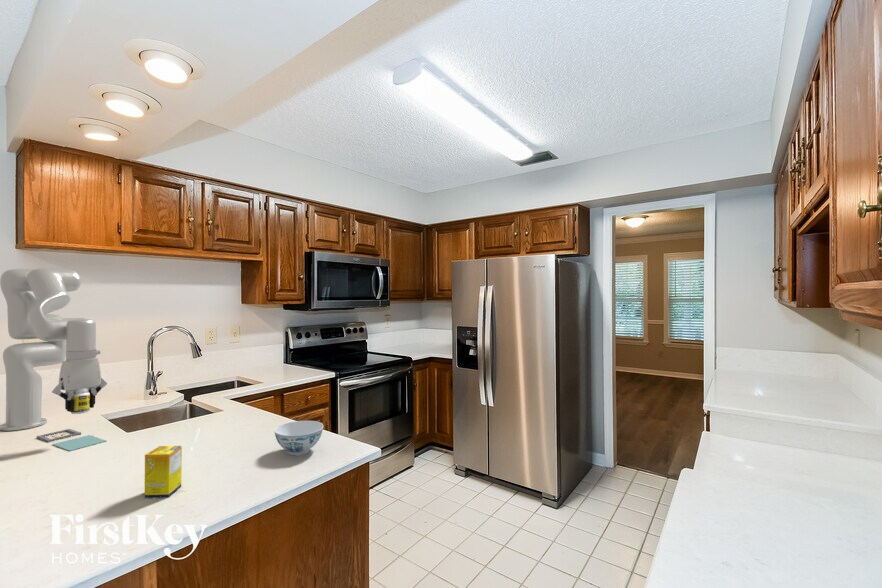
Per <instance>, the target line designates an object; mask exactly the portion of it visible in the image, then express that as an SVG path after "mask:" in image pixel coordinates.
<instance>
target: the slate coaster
mask: <svg viewBox="0 0 882 588" xmlns="http://www.w3.org/2000/svg"><path fill="white" fill-rule="evenodd" d="M62 432H63V433H62ZM66 432H67V433H70V434H67V433H66ZM58 433H59V434H60V436H58ZM54 434H55V435H54ZM49 435H50V436H51V438H50V437H49ZM63 435H64V436H63ZM81 435H82V432H81V431H78V430H75V429H71V428H66V429H63V430H58V431H53V432H50V433H46V434H41V435H36V439H38V438H39V439H38V440H42V441H43V440H44V442H47V443H51V442H55V440H56V441H59V439H60V440H63V439H68V438H72V437H75V436H76V437H77V436H81ZM45 436H46V437H45ZM55 436H56V437H55ZM71 436H72V437H71Z"/></svg>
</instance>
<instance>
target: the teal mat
mask: <svg viewBox="0 0 882 588" xmlns="http://www.w3.org/2000/svg"><path fill="white" fill-rule="evenodd" d="M106 441H107V440H106V439H102V438H99V437H96V436H93V435H91V434H87V435H84V436H79V437H76V438H72V439H68V440H64V441H60V442H59V441H58V442H55V443H52V446H55V447H57V448H60V449H63V450H65V451H67V450H68V452H72V451H76V450H81V449H83V448H88V447H91V445H92V446H95V445H98V443H99V444H102V442H103V443H106ZM87 446H88V447H87ZM80 448H81V449H80Z"/></svg>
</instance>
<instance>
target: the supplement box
mask: <svg viewBox="0 0 882 588" xmlns="http://www.w3.org/2000/svg"><path fill="white" fill-rule="evenodd" d="M182 451H183V449H182V445H158V446H157V447H156V448H154V449H152V450H150V451H149V452H147V453H145V454H144V499H159V498H160V499H162V498H170V497H171V496H172V495H173V494H175V492H177V491H178V490H179V489H180V488H181V487H182V457H183V455H182V453H183V452H182Z"/></svg>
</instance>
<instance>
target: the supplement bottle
mask: <svg viewBox="0 0 882 588" xmlns="http://www.w3.org/2000/svg"><path fill="white" fill-rule="evenodd" d="M88 391H89V388H83V389H79V390H75V391H74V394H73V397H72V400H74V411H73V412H70V413H71V415H80V414H85V413H89V412H90V409H91V408H90V393H89V392H88Z"/></svg>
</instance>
